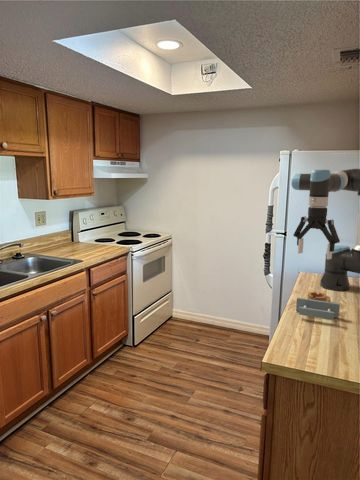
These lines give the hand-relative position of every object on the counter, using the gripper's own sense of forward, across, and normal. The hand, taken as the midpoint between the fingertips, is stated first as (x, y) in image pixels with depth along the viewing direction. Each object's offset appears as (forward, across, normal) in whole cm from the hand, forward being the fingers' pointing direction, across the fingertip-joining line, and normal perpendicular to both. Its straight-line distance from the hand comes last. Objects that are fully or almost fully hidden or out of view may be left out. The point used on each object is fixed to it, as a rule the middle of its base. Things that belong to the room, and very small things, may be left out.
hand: (314, 255), depth 156 cm
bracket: (+28, -5, +15) cm, 32 cm away
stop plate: (+27, +3, +1) cm, 27 cm away
